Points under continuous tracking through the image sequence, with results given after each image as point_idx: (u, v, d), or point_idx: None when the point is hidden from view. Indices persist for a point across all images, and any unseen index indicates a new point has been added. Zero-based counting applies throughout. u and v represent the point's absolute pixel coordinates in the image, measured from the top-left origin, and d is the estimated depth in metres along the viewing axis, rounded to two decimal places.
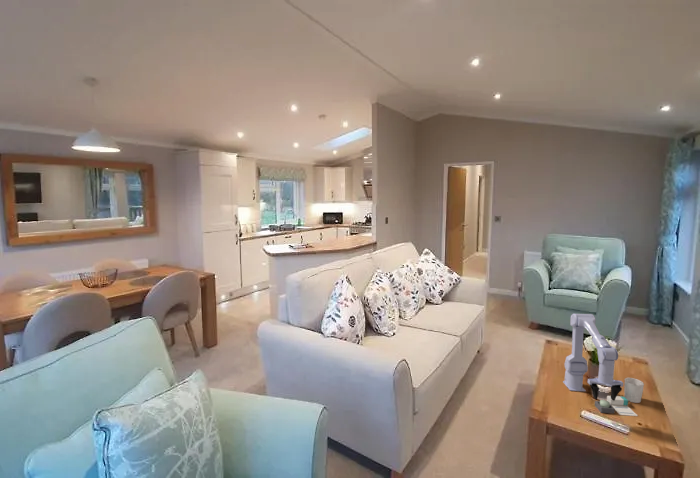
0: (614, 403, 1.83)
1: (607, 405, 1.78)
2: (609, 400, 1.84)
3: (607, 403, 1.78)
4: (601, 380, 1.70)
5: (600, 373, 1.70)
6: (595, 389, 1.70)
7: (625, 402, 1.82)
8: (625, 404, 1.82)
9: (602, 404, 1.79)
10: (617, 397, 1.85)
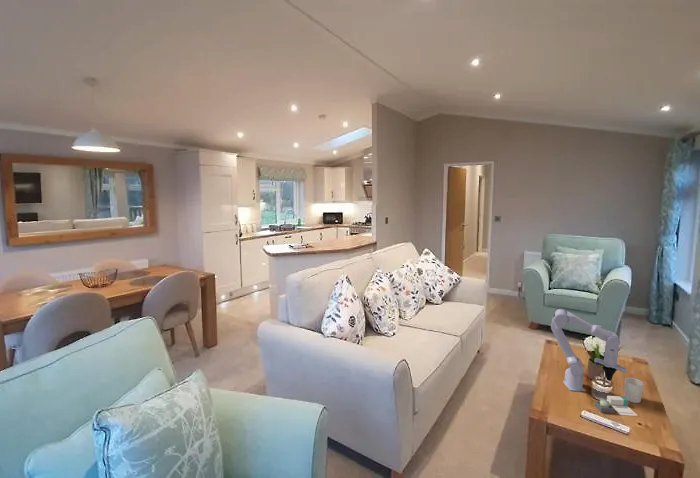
0: (614, 403, 1.83)
1: (607, 405, 1.78)
2: (609, 400, 1.84)
3: (607, 403, 1.78)
4: (603, 361, 1.92)
5: None
6: (604, 369, 1.91)
7: (625, 402, 1.82)
8: (625, 404, 1.82)
9: (602, 404, 1.79)
10: (617, 397, 1.85)
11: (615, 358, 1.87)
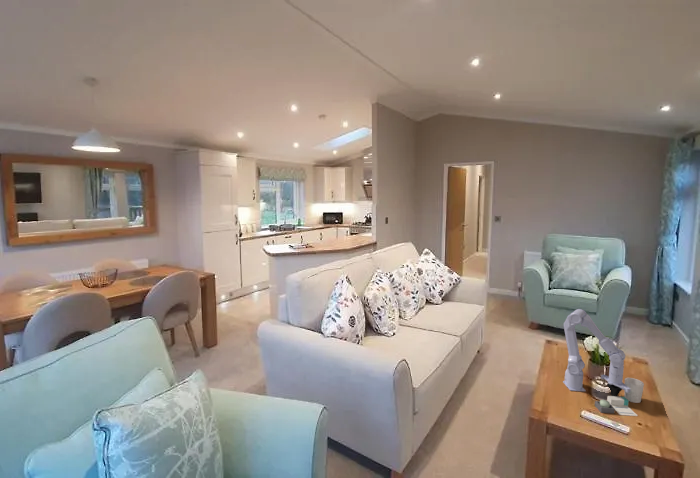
0: (614, 403, 1.83)
1: (607, 405, 1.78)
2: (609, 400, 1.84)
3: (607, 403, 1.78)
4: (608, 378, 1.88)
5: None
6: (608, 386, 1.88)
7: (626, 402, 1.82)
8: (625, 404, 1.82)
9: (602, 404, 1.79)
10: (617, 397, 1.84)
11: (619, 376, 1.83)
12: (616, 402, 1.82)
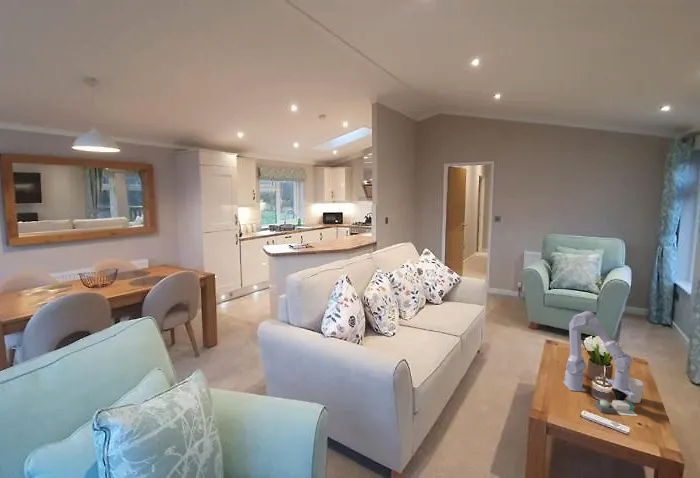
0: (620, 408, 1.78)
1: (607, 405, 1.78)
2: (615, 405, 1.79)
3: (607, 403, 1.78)
4: None
5: None
6: (613, 391, 1.83)
7: (631, 408, 1.77)
8: (631, 409, 1.78)
9: (602, 404, 1.79)
10: (623, 402, 1.79)
11: (623, 381, 1.78)
12: (621, 407, 1.78)
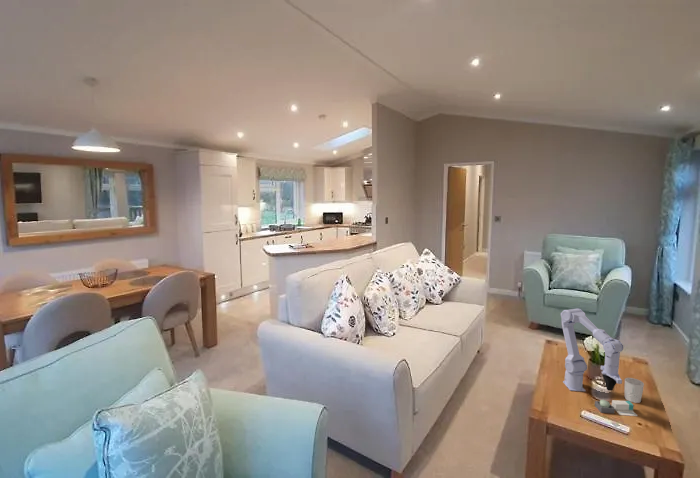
0: (619, 408, 1.78)
1: (607, 405, 1.78)
2: (614, 405, 1.80)
3: (607, 403, 1.78)
4: None
5: None
6: (603, 377, 1.82)
7: (631, 407, 1.78)
8: (630, 409, 1.78)
9: (602, 404, 1.79)
10: (622, 402, 1.80)
11: (612, 367, 1.76)
12: (621, 407, 1.78)
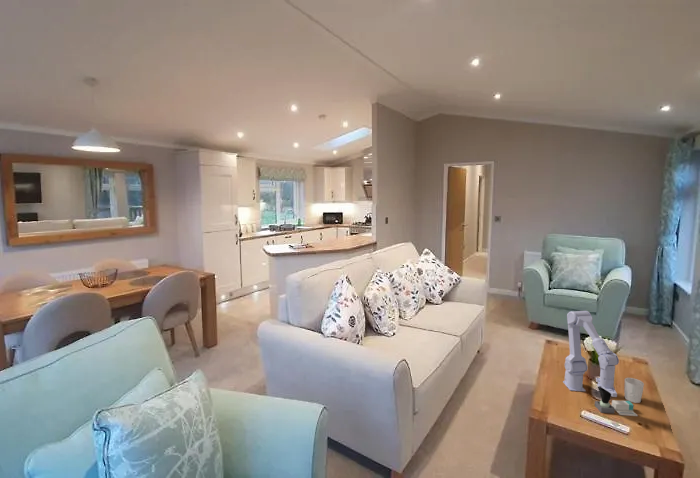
0: (619, 408, 1.78)
1: (607, 405, 1.78)
2: (614, 405, 1.80)
3: (607, 403, 1.78)
4: None
5: None
6: None
7: (631, 407, 1.78)
8: (630, 409, 1.78)
9: (602, 404, 1.79)
10: (622, 402, 1.80)
11: (607, 379, 1.75)
12: (621, 407, 1.78)
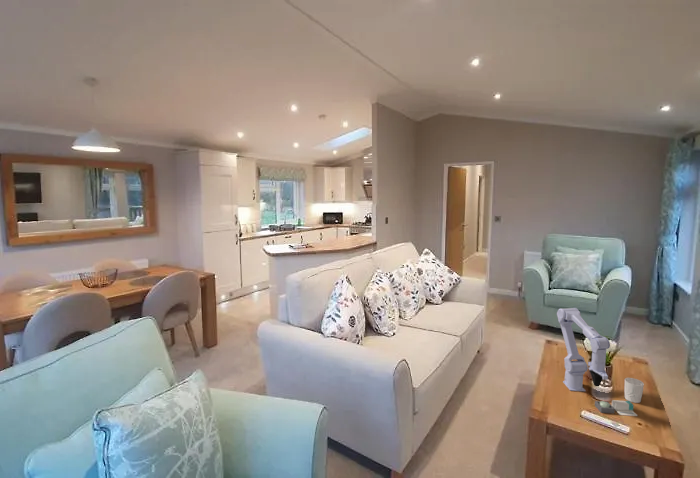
0: (619, 408, 1.78)
1: (607, 407, 1.78)
2: (614, 405, 1.80)
3: (607, 405, 1.78)
4: None
5: None
6: None
7: (631, 407, 1.78)
8: (630, 409, 1.78)
9: (602, 406, 1.79)
10: (622, 402, 1.80)
11: (599, 363, 1.80)
12: (621, 407, 1.78)
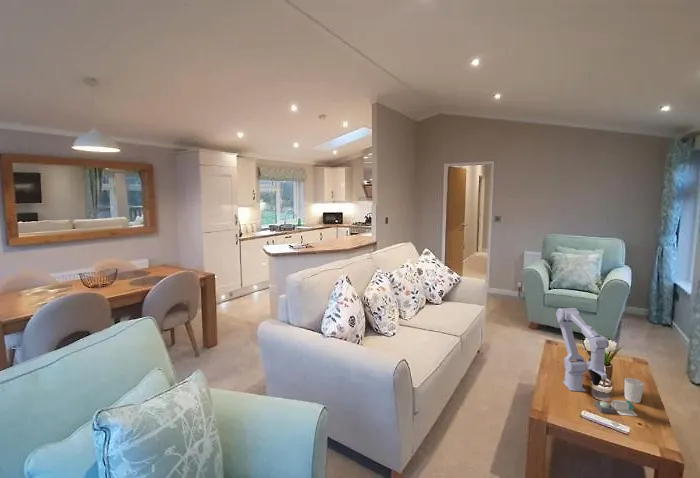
0: (619, 408, 1.78)
1: (607, 407, 1.78)
2: (614, 405, 1.80)
3: (607, 405, 1.78)
4: None
5: None
6: None
7: (631, 407, 1.78)
8: (630, 409, 1.78)
9: (602, 406, 1.79)
10: (622, 402, 1.80)
11: (598, 362, 1.80)
12: (621, 407, 1.78)
